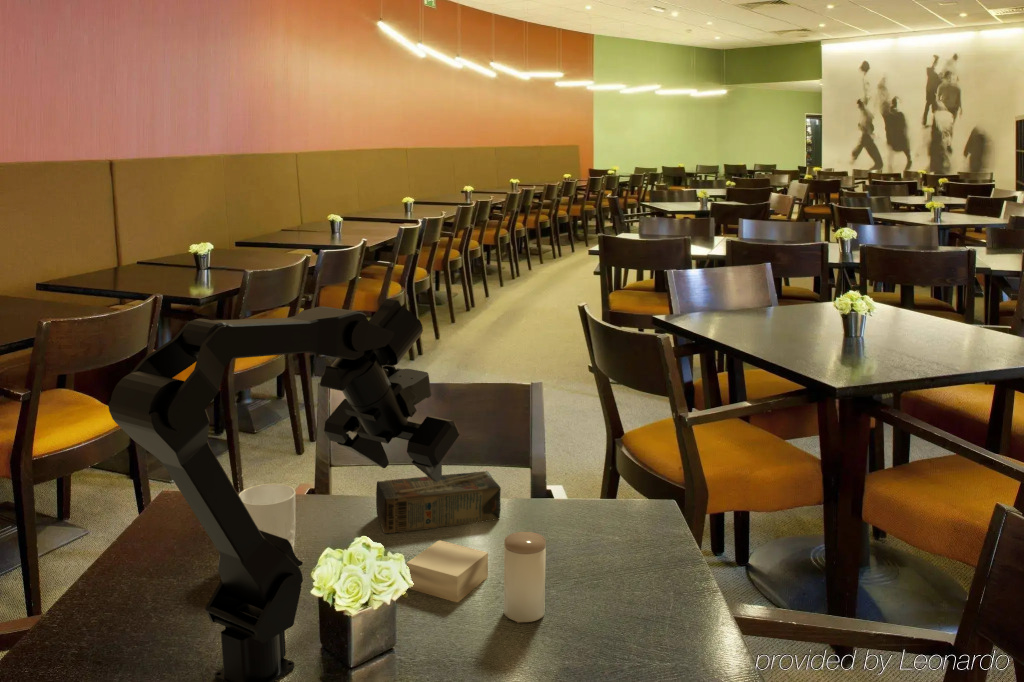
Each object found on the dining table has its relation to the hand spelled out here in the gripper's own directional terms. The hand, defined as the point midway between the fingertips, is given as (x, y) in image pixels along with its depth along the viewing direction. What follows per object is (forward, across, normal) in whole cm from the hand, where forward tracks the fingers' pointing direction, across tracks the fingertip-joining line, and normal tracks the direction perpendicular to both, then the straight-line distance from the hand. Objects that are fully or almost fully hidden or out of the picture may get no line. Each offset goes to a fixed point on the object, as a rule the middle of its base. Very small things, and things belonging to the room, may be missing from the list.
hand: (411, 472), depth 122 cm
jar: (+13, -18, +8) cm, 24 cm away
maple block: (+14, -5, +7) cm, 16 cm away
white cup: (+9, +20, +14) cm, 27 cm away
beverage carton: (+22, +9, -7) cm, 25 cm away
